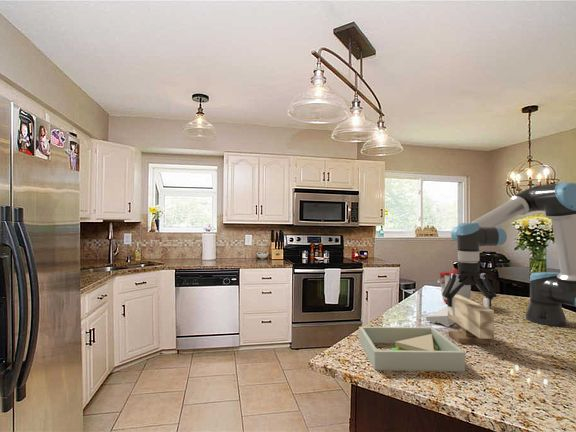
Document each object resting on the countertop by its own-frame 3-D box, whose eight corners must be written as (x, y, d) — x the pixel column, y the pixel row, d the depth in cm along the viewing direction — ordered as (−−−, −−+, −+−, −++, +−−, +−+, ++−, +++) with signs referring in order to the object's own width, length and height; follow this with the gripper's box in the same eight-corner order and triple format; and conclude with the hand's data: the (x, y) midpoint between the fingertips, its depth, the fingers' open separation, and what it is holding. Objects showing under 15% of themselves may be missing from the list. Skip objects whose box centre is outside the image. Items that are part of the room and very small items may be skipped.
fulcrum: (477, 336, 131) (477, 323, 131) (490, 343, 123) (490, 330, 123) (448, 335, 131) (448, 323, 131) (458, 343, 123) (458, 330, 123)
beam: (459, 317, 139) (459, 294, 139) (494, 338, 115) (493, 310, 115) (447, 317, 139) (447, 294, 139) (480, 338, 115) (479, 310, 115)
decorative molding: (428, 327, 148) (450, 326, 141) (425, 316, 149) (447, 315, 142) (455, 312, 171) (475, 311, 164) (453, 303, 172) (472, 302, 165)
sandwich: (460, 356, 112) (460, 342, 112) (429, 371, 101) (429, 355, 101) (421, 342, 125) (421, 329, 125) (389, 354, 114) (389, 340, 114)
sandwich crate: (432, 342, 124) (432, 327, 124) (465, 371, 100) (465, 352, 100) (359, 342, 124) (359, 326, 124) (374, 370, 100) (374, 351, 101)
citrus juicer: (433, 299, 190) (433, 265, 190) (464, 300, 188) (464, 266, 188) (442, 306, 175) (442, 270, 175) (476, 307, 172) (476, 270, 173)
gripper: (494, 259, 131) (494, 311, 130) (432, 260, 131) (433, 312, 131) (506, 262, 123) (507, 317, 123) (441, 263, 123) (442, 317, 123)
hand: (469, 314), depth 127 cm, fingers open, 13 cm apart
